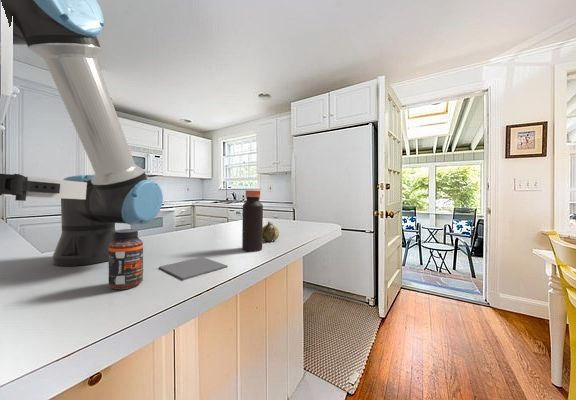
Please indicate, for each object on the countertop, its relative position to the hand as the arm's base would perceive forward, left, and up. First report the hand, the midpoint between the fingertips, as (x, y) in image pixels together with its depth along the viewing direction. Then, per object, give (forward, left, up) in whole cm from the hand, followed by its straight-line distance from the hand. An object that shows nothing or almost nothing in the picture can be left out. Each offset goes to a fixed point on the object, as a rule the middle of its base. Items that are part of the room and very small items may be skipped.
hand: (70, 191), depth 42 cm
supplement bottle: (-1, +9, -20) cm, 21 cm away
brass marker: (-1, +9, -20) cm, 21 cm away
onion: (-9, +61, -20) cm, 64 cm away
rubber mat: (-1, +24, -20) cm, 31 cm away
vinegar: (-4, +47, -20) cm, 51 cm away
